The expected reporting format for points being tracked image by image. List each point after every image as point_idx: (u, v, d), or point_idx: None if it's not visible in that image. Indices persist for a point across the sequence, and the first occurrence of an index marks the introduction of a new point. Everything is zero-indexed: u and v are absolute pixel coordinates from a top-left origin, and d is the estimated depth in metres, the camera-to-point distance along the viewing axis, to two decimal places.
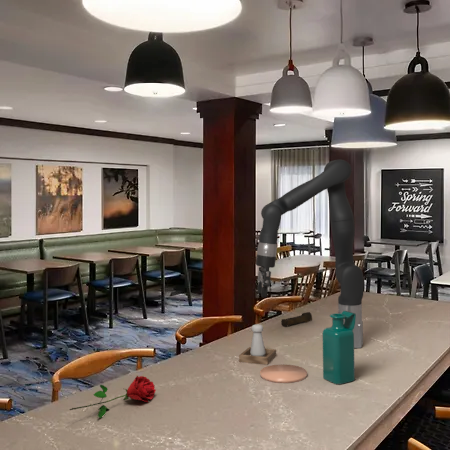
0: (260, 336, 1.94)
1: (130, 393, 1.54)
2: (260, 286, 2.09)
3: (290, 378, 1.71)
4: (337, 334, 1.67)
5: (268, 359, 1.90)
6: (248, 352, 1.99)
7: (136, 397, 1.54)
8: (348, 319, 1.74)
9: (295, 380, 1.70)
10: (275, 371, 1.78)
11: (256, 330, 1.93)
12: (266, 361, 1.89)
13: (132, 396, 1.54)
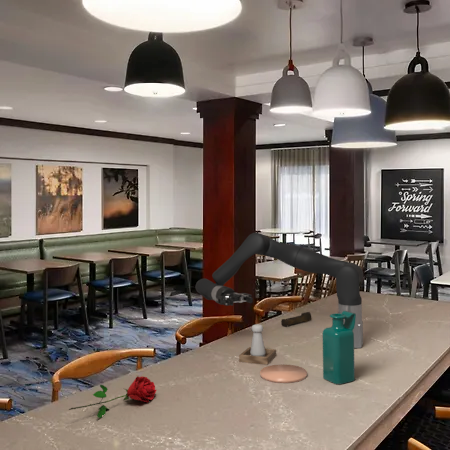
0: (260, 336, 1.94)
1: (130, 393, 1.54)
2: (247, 300, 2.09)
3: (290, 378, 1.71)
4: (337, 334, 1.67)
5: (268, 359, 1.90)
6: (248, 352, 1.99)
7: (136, 397, 1.54)
8: (348, 319, 1.74)
9: (295, 380, 1.70)
10: (275, 371, 1.78)
11: (256, 330, 1.93)
12: (266, 361, 1.89)
13: (132, 396, 1.54)
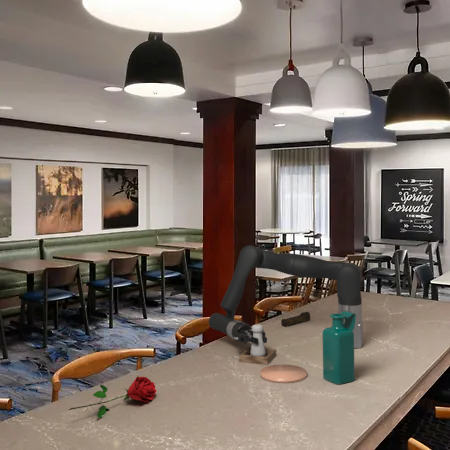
0: (260, 336, 1.94)
1: (130, 393, 1.54)
2: None
3: (290, 378, 1.71)
4: (337, 334, 1.67)
5: (268, 359, 1.90)
6: (248, 352, 1.99)
7: (136, 397, 1.53)
8: (348, 319, 1.74)
9: (295, 380, 1.70)
10: (275, 371, 1.78)
11: (256, 330, 1.93)
12: (266, 361, 1.89)
13: (132, 396, 1.53)
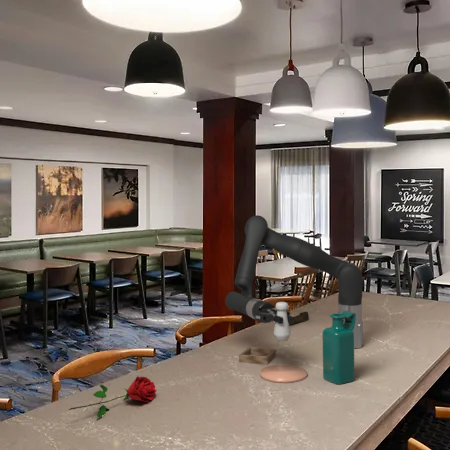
0: (285, 315, 1.75)
1: (130, 393, 1.54)
2: None
3: (290, 378, 1.71)
4: (337, 334, 1.67)
5: (268, 359, 1.90)
6: (248, 352, 1.99)
7: (136, 397, 1.54)
8: (348, 319, 1.74)
9: (295, 380, 1.70)
10: (275, 371, 1.78)
11: (281, 308, 1.75)
12: (266, 361, 1.89)
13: (132, 396, 1.53)
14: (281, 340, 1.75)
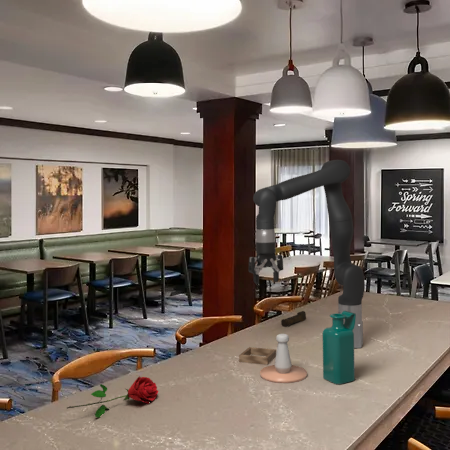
0: (286, 347, 1.76)
1: (130, 394, 1.54)
2: (274, 274, 2.01)
3: (290, 378, 1.71)
4: (337, 334, 1.67)
5: (268, 359, 1.90)
6: (248, 352, 1.99)
7: (136, 398, 1.53)
8: (348, 319, 1.74)
9: (295, 380, 1.70)
10: (275, 371, 1.78)
11: (281, 340, 1.75)
12: (266, 361, 1.89)
13: (132, 397, 1.53)
14: (282, 372, 1.76)
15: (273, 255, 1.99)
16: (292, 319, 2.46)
